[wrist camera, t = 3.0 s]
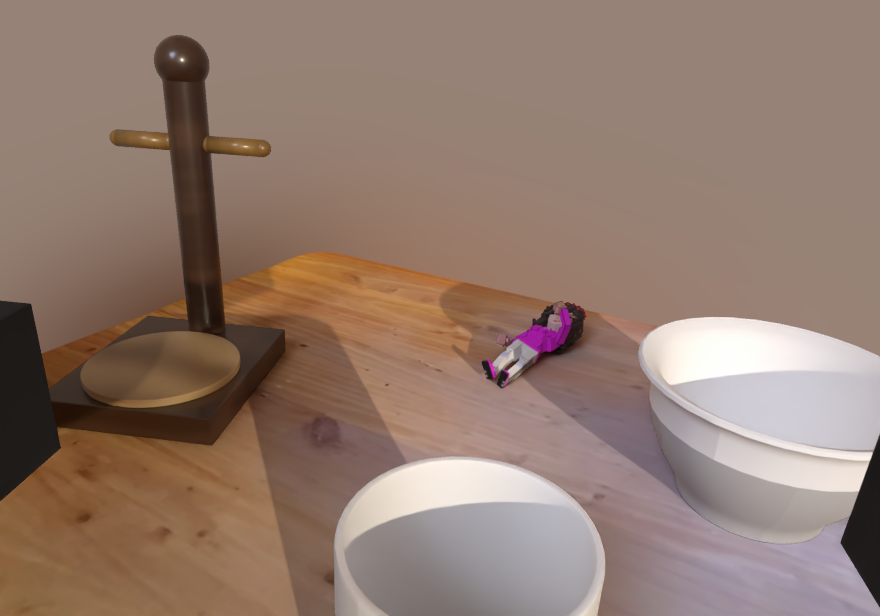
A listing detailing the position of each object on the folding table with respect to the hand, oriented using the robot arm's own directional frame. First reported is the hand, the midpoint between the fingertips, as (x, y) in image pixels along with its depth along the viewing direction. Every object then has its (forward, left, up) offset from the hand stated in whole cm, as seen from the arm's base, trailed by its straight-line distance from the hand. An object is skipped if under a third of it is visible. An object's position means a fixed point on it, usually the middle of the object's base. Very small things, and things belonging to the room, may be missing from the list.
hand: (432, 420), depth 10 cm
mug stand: (+12, +38, -20) cm, 44 cm away
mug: (+8, +6, -20) cm, 22 cm away
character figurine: (+36, +23, -20) cm, 47 cm away
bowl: (+32, +3, -20) cm, 38 cm away
